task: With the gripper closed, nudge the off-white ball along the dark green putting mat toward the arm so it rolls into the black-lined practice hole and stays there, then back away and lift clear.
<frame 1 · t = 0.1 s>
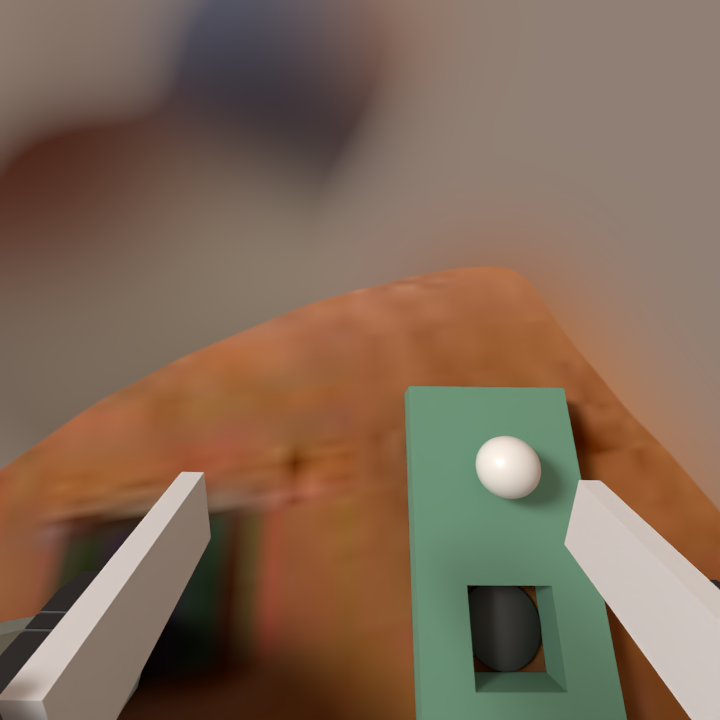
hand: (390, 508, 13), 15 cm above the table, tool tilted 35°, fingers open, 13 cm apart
disposable coffee cup: (104, 656, 24), on the table
ball: (507, 466, 24), point 4 cm above the table, touching putting mat
putting mat: (491, 541, 26), on the table
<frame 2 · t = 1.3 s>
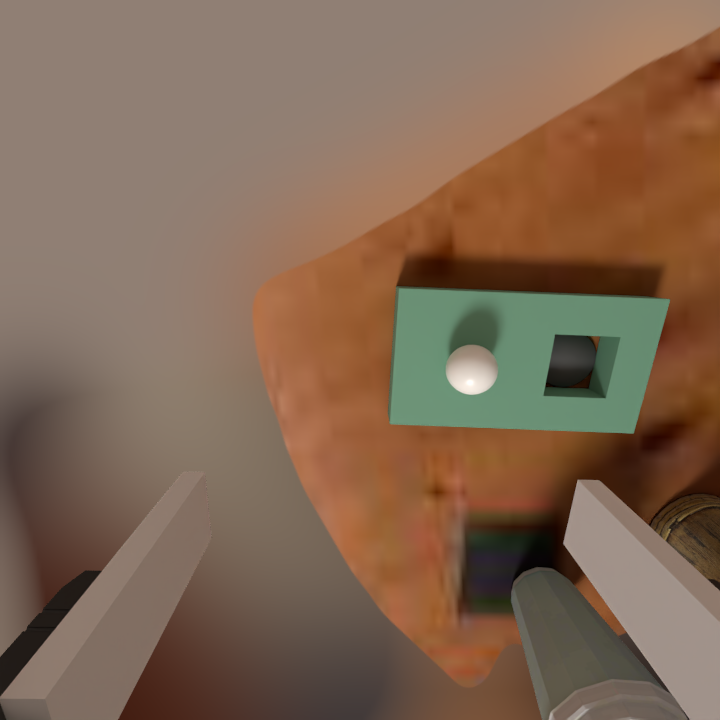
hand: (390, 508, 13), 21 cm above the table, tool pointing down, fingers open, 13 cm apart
disposable coffee cup: (535, 585, 40), on the table
ball: (471, 369, 29), point 4 cm above the table, touching putting mat
putting mat: (511, 357, 33), on the table
wooden mug: (667, 538, 39), on the table
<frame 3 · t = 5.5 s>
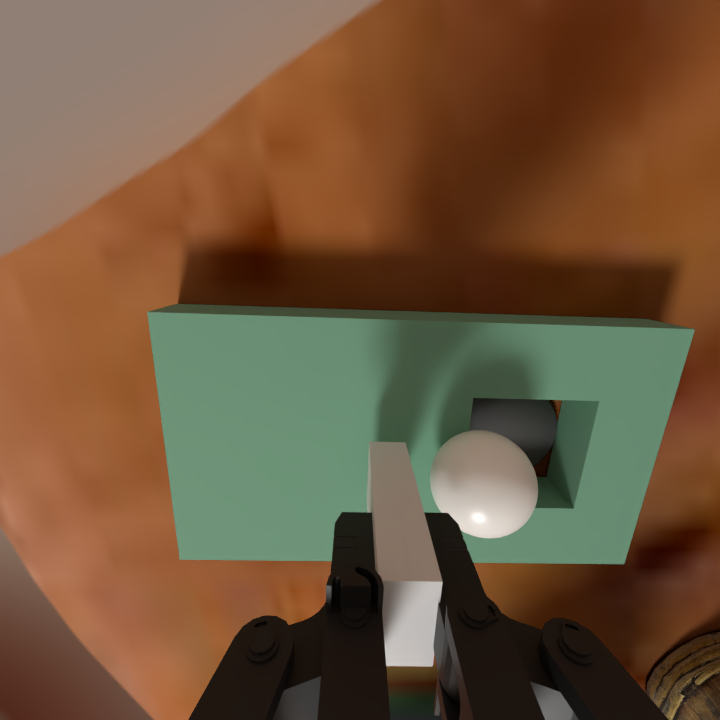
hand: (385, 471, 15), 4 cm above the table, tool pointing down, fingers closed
ball: (481, 481, 14), point 4 cm above the table, tilted 154°, touching putting mat
putting mat: (407, 428, 18), on the table
wooden mug: (675, 689, 25), on the table
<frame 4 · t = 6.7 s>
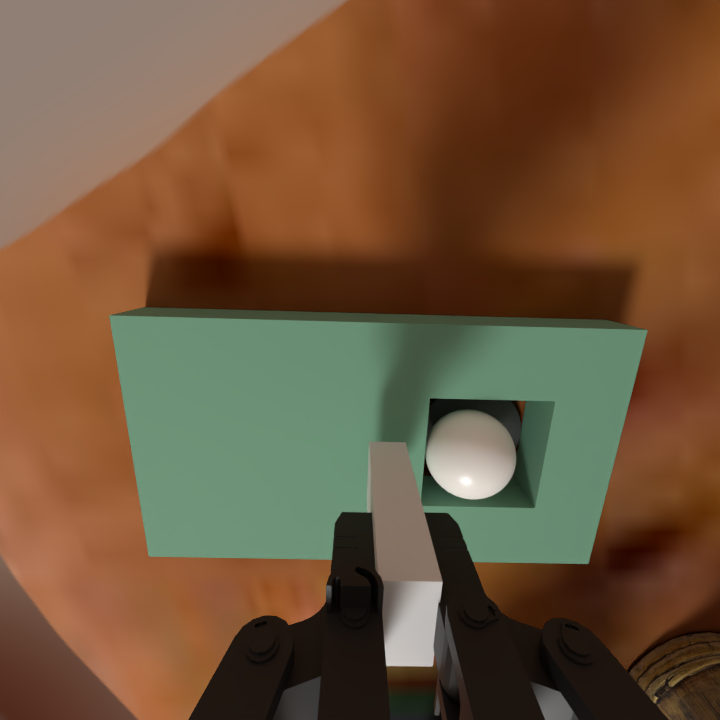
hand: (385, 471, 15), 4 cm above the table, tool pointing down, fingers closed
ball: (469, 453, 17), point 2 cm above the table, tilted 71°, touching putting mat
putting mat: (373, 428, 19), on the table
wooden mug: (653, 691, 25), on the table
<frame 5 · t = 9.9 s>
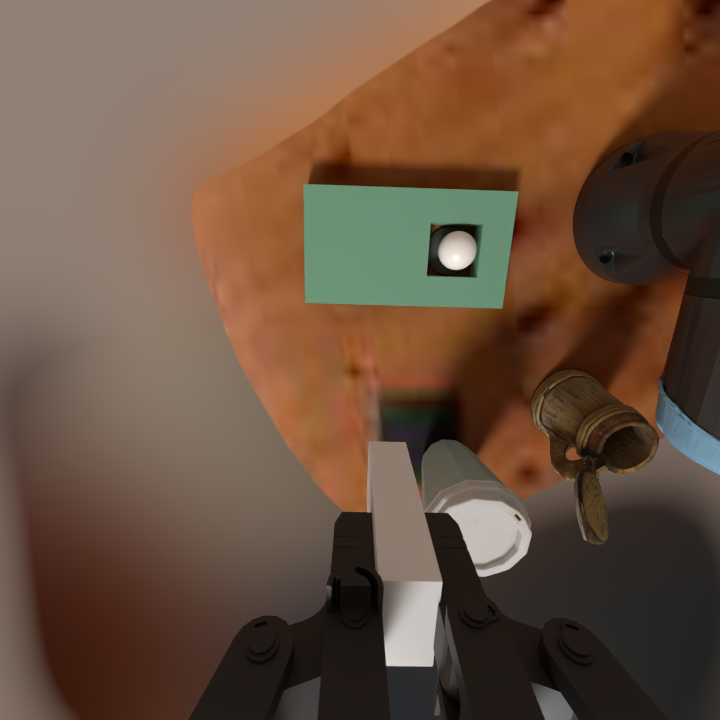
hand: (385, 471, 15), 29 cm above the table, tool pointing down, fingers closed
disposable coffee cup: (443, 457, 48), on the table
ball: (457, 250, 38), point 2 cm above the table, tilted 41°, touching putting mat
putting mat: (404, 249, 41), on the table
wooden mug: (548, 411, 47), on the table
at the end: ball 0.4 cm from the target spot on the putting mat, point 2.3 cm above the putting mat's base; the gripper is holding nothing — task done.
